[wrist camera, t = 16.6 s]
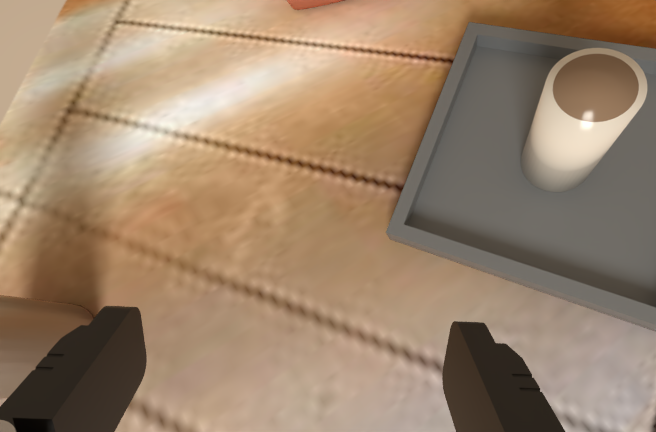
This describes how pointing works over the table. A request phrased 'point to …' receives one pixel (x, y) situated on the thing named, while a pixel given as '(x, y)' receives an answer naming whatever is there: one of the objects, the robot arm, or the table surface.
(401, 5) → the table surface
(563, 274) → the charcoal tray
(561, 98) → the cream cup
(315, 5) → the teapot
